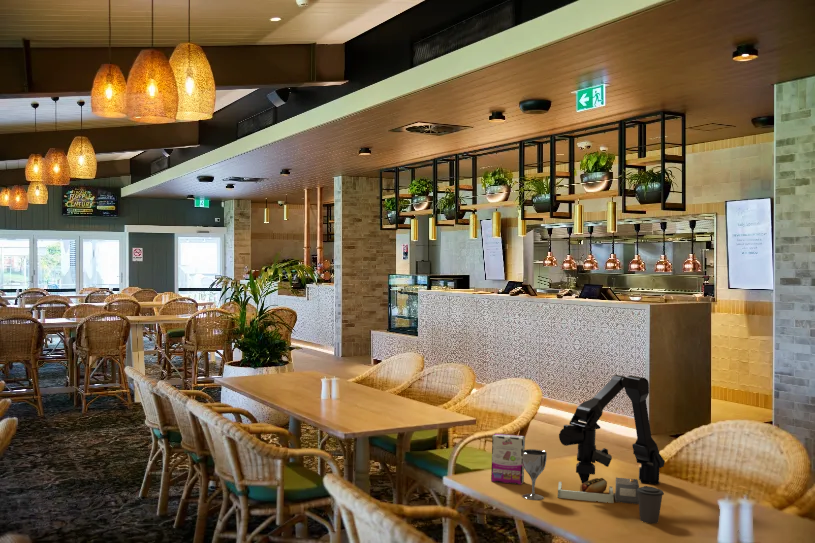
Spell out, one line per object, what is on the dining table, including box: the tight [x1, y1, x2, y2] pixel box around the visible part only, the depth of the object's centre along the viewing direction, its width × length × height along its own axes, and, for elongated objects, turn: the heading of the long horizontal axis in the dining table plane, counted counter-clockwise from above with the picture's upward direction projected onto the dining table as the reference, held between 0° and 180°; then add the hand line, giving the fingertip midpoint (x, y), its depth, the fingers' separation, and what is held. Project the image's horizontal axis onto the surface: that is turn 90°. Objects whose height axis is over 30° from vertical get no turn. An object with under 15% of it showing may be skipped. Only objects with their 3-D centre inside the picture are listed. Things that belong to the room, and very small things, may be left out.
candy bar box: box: [490, 433, 526, 485], centre depth 277 cm, size 11×5×16 cm, turn 73°
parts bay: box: [557, 481, 615, 504], centre depth 263 cm, size 18×11×2 cm, turn 77°
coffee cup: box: [637, 485, 665, 524], centre depth 238 cm, size 8×8×10 cm
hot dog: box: [579, 477, 608, 494], centre depth 263 cm, size 5×13×5 cm, turn 137°
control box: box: [613, 477, 640, 505], centre depth 260 cm, size 8×9×6 cm
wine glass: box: [521, 448, 548, 501], centre depth 259 cm, size 8×8×15 cm
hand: (584, 487), depth 267 cm, fingers closed
